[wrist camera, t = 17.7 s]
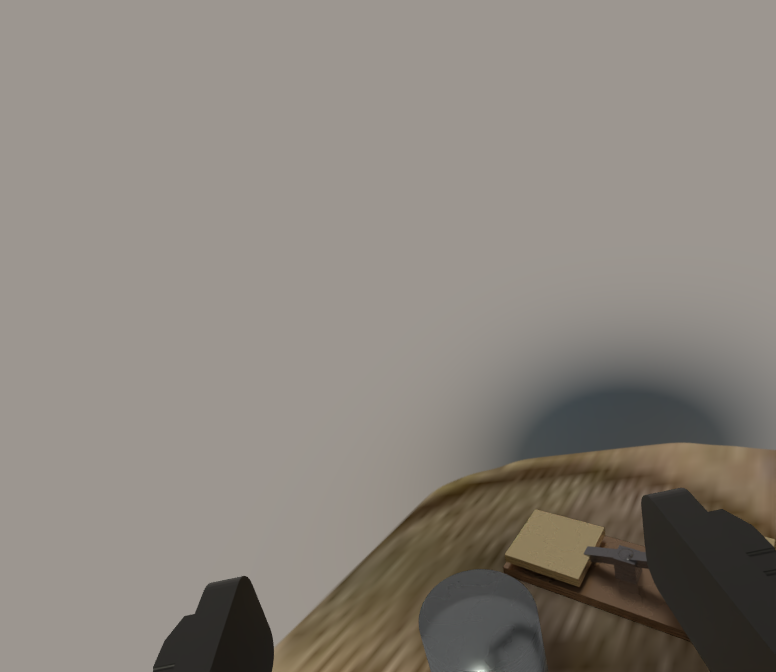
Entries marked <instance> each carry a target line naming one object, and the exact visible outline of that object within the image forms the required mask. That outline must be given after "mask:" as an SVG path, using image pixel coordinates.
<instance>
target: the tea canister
mask: <svg viewBox="0 0 776 672" xmlns="http://www.w3.org/2000/svg"><path fill="white" fill-rule="evenodd" d="M419 630H420V634H421V638H422V641H423V645H424V649H425V652H426V656H427V659H428V663H429V667H430V670H431V672H548V667H547V661H546V656H545V650H544V645H543V639H542V634H541V628H540V623H539V617H538V612H537V607H536V604H535V601H534V599H533V597H532V595H531V594H530V592H529V591H528V589H527V588H526V587H525V586H524V585H523V584H522V583H520V582H519V581H518V580H516V579H515V578H513V577H511V576H509V575H507V574H504V573H501V572H498V571H494V570H486V569H477V570H469V571H464V572H460V573H457V574H455V575H452V576H450V577H448V578H447V579H445V580H443V581H442V582H440V583H439V584H438V585H437V586H436V587H434V588H433V590H432V591H431V592H430V593H429V594H428V596H427V597H426V599H425V601H424V602H423V605H422V607H421V610H420V615H419Z"/></svg>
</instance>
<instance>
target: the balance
mask: <svg viewBox="0 0 776 672" xmlns="http://www.w3.org/2000/svg"><path fill="white" fill-rule="evenodd" d="M765 538H766V539H767V540H768V541H769V542H770V543H771V544H772V545H773V546H774V548H775V539H772V538H767V537H765ZM505 558H506V564H505V565H504V567H503V568H504V573H505V574H507V575H509V576H511V577H514V578H517V579H519V580H522V581H525V582H528V583H530V584H533V585H536V586H539V587H541V588H544V589H547V590H550V591H552V592H555V593H558V594H561V595H563V596H566V597H569V598H572V599H574V600H577V601H580V602H583V603H585V604H588V605H591V606H594V607H596V608H599V609H602V610H605V611H607V612H610V613H613V614H616V615H618V616H621V617H624V618H627V619H630V620H632V621H635V622H638V623H641V624H643V625H646V626H649V627H652V628H654V629H657V630H660V631H663V632H665V633H668V634H671V635H674V636H676V637H679V638H682V639H685V640H687V641H690V639H689V637H688V636H687V634H686V633H685V631H684V630H683V628H682V627H681V625H680V623H679V622H678V620H677V619H676V617H675V616H674V614H673V613H672V611H671V610H670V608H669V606H668V605H667V603H666V602H665V600H664V599H663V597H662V596H661V594H660V592H659V591H658V589H657V587H656V585H655V583H654V581H653V579H652V576H651V573H650V571H649V567H648V564H647V559H646V551H645V547H644V546H641V545H637V544H633V543H630V542H626V541H622V540H619V539H615V538H611V537H608V536H605V528H604V527H601V526H597V525H593V524H590V523H586V522H582V521H578V520H574V519H571V518H567V517H563V516H559V515H555V514H552V513H548V512H544V511H540V510H537V509H535V510H534V512H533V513H532V515H531V516H530V518H529V519H528V521H527V522H526V524H525V525H524V527H523V528H522V530H521V531H520V533H519V534H518V536H517V537H516V539H515V540H514V542H513V543H512V545H511V546H510V547H509V549H508V550H507V552H506V553H505ZM690 642H691V641H690Z"/></svg>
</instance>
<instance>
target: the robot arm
mask: <svg viewBox="0 0 776 672" xmlns="http://www.w3.org/2000/svg"><path fill="white" fill-rule="evenodd" d="M641 506H642V517H643V528H644V539H645V551H646V559H647V564H648V567H649V571H650V573H651V576H652V579H653V581H654V583H655V585H656V587H657V589H658V591H659V592H660V594H661V596H662V597H663V599H664V600H665V602H666V603H667V605H668V606H669V608H670V610H671V611H672V613H673V614H674V616H675V617H676V619H677V620H678V622H679V623H680V625H681V627H682V628H683V630H684V631H685V633H686V634H687V636H688V637H689V639H690V641H691V642H692V644H693V645H694V647H695V648H696V650H697V651H698V653H699V654H700V656H701V658H702V659H703V661H704V662H705V664H706V665H707V667H708V668H709V670H710V672H776V550H775V548H774V546H773V545H772V544H771V543H770V542H769V541H768V540H767V539H766V538H765V537H764V536H763V535H762V534H761V533H760V532H758V531H757V530H756V529H755V528H754V527H753V526H752V525H751V524H749V523H747V522H745V521H743V520H742V519H740V518H738V517H736V516H734V515H732V514H730V513H729V512H727V511H725V510H723V509H720V510H715V511H710V512H707V511H706V510H705V508H704V507H703V506H702V505H701V504H700V503H699V502H698V501H697V500H696V499H695V498H694V497H693V495H692V494H691V493H690V492H689V491H688V490H686V489H684V488H678V489H673V490H668V491H663V492H658V493H653V494H648V495H644V496H643V497H642V501H641ZM273 660H274V646H273V638H272V633H271V630H270V627H269V625H268V622H267V620H266V617H265V615H264V612H263V610H262V607H261V605H260V602H259V600H258V598H257V595H256V593H255V590H254V588H253V585H252V583H251V581H250V579H249V578H248V577H246V576H242V577H237V578H232V579H227V580H222V581H218V582H213V583H210V584H208V585H207V586H206V588H205V590H204V592H203V594H202V597H201V600H200V602H199V605H198V608H197V610H196V612H195V614H193V615H188V616H184V617H183V619H182V620H181V621H180V622H179V624H178V625H177V626H176V627H175V629H174V630H173V631H172V632H171V634H170V635H169V636H168V637H167V639H166V640H165V641H164V644H163V646H162V648H161V650H160V653H159V655H158V657H157V660H156V662H155V664H154V666H153V672H272V667H273Z"/></svg>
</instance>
